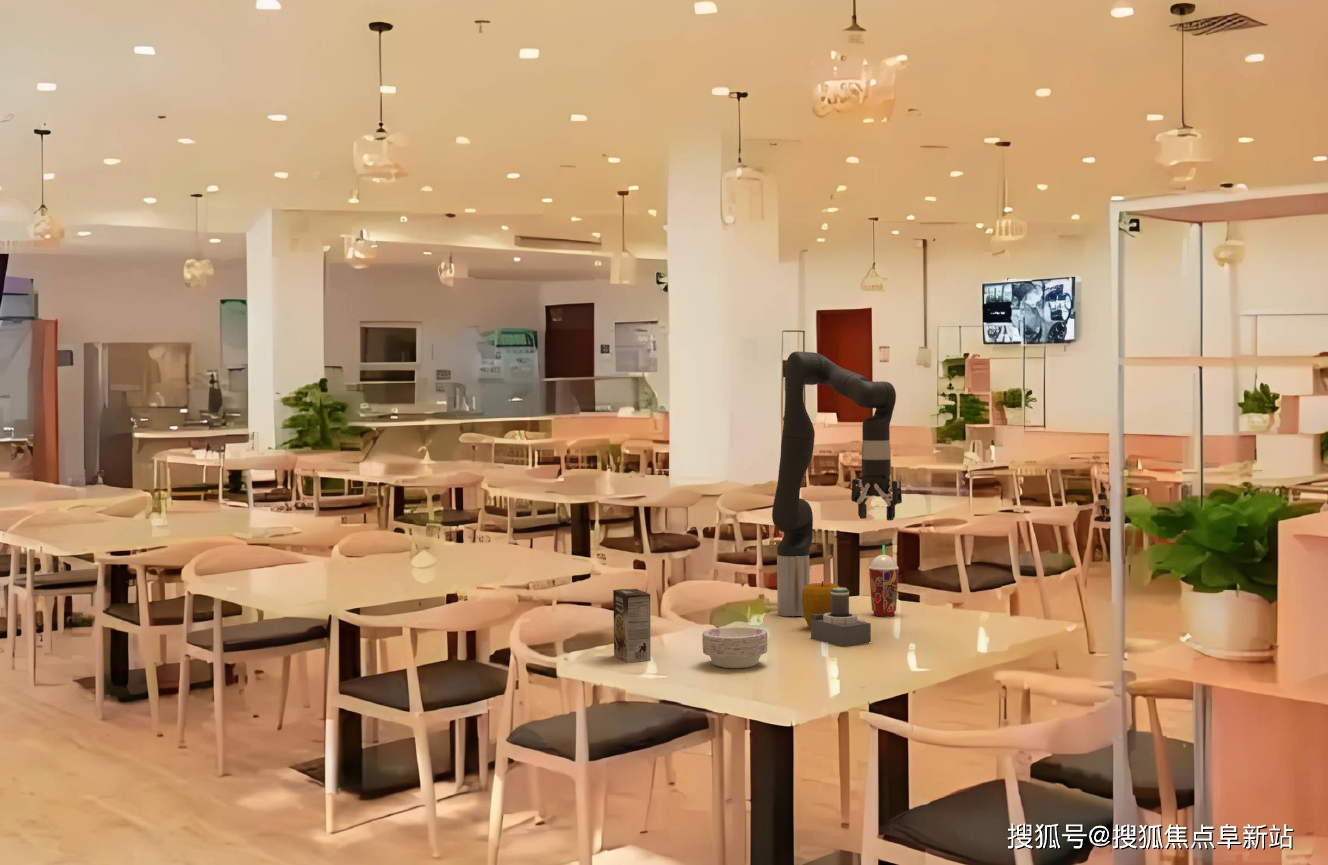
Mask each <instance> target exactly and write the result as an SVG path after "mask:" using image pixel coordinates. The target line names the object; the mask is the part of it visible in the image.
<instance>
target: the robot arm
mask: <svg viewBox="0 0 1328 865" xmlns="http://www.w3.org/2000/svg"><path fill="white" fill-rule="evenodd" d="M806 385H807V386H815V385H820V386H821V385H823V386H830V387H831V388H832V390H833V391H834V392H835V393H836V394H838V395H840V396H842V397H845V398H847V399H849V400H851V401H852V402H853V403H854V404H856V405H857V406H858V407H860V408H864V409H875V412H874V414H873V415H872V416H870V417H867V418H865V419H863V421H862V426H861V427H862V428H861V430H862V442H861V443H862V444H861V476H862V479H861V478H855V479H854V478H853V479H852V481H851V496H850V498H851V502H854V503H856V504H857V505H858V507H857V510H858V511H857V512H858V513H857V514H858V517H859V519H867V517H868V516H867V510H868V509H867V504H866V503H867V501H868V500H869V499H870V498H871V497H878V498H879V497H880V498H881V499H882V500H883V502H885V503H886V505H887V506H886V520H887V521H889V522H890V521H893V520H894V519H895V518H896V505H899V504H902V503H903V502H902V501H903V499H902V498H903V497H902V496H903V495H902V481H901V480H892V481H891V478H890V477H891V472H892V471H891V469H892V464H891V462H892V461H891V459H892V458H891V444H890V432H891V431H890V424H891V421H892V418H893V412H894V409H895V405H896V400H897V394H896V390H895V387H894V385H893V384H892V383H891V382H889V381H869V379H868V378H867V377H866V376H864V375H862V374H859V373H857V372H854V371H851V370H849V369H846V368H843V367H841V366H839V365H837V364H836V363H834V362H833V361H831V360H830V359H828V357H826V356H825V355H823V354H821V353H819V352H811V351H797V350H796V351H793V352H791V353H790V354H789V356H788V357H787V360H786V363H785V370H784V412H783V413H784V415H783V426H782V433H781V442H780V456H779V457H780V458H779V466H778V479H777V485H776V490H775V496H774V499H773V504H772V510H771V511H772V512H771V518H772V523H773V526H774V527H775V528H776V529H777V530H778V531H780V532H782V533H783V537H782V539H781V541H780V542H779V543H778V544H777V546H776V569H777V570H776V571H777V575H776V577H777V578H776V579H777V580H776V583H777V584H776V586H777V587H776V588H777V590H776V591H777V595H776V596H777V599H776V600H777V602H776V603H777V606H776V607H777V612H776V613H777V615H778V616H780V615H781V616H780V617H787V616H802V617H805V616H804V612H803V607H802V592H803V589H804V587H805V586H806V585H808V584H811V582H810V576H811V575H810V574H811V572H810V570H811V569H810V548H811V547H812V544H813V543H812V542H813V532H814V531H813V530H814V529H813V524H814V522H813V521H814V520H813V519H814V516H813V510H812V507H811V505H810V503H809V502H808V501H806V500H805V499H803V498H801V497H800V493H801V486H802V482H803V480H804V477H805V475H806V473H807V470H808V468H809V466H810V465H811V461H812V457H813V455H814V454H813V453H814V448H815V434H816V432H815V428H814V425H813V422H812V419H811V418H810V417H811V416H809V414H808V410H807V409H806V406H805V400H804V386H806ZM862 487H863V489H862ZM890 489H891V490H890Z"/></svg>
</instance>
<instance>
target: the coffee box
mask: <svg viewBox="0 0 1328 865" xmlns="http://www.w3.org/2000/svg"><path fill="white" fill-rule="evenodd" d="M612 592H613V594H612V596H613V597H612V598H613V606H612V607H613V656H615V657H617V658H618V659H620V660H622V659H623V660H622V661H624V660H625V661H624V662H626V663H633V662H635V661H637V662H642V661H641V660H648V661H651V657H652V656H651V593H649V592H646V591H643V590H641V589H638V588H631V589H629V588H621V589H613V590H612ZM635 663H636V662H635Z"/></svg>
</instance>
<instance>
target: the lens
mask: <svg viewBox="0 0 1328 865" xmlns="http://www.w3.org/2000/svg"><path fill="white" fill-rule="evenodd" d="M849 613H850V590H849V589H848V588H847V587H841V586H839V587H838V588H833V589H831V616H833V617H849Z"/></svg>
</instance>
